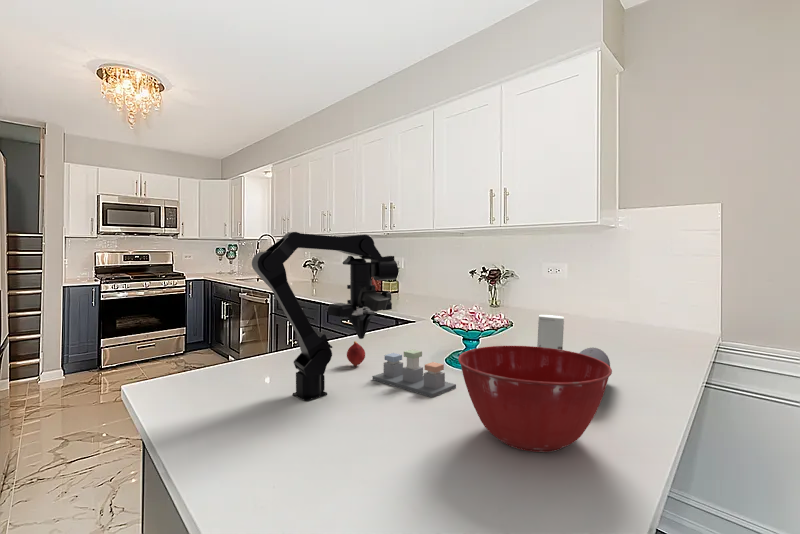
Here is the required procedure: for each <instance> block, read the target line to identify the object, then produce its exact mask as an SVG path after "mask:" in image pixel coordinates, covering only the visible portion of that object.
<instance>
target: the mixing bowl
mask: <svg viewBox="0 0 800 534" xmlns="http://www.w3.org/2000/svg"><path fill="white" fill-rule="evenodd" d="M457 359H458V362H459V364H460V368H461V373H462V377H463V380H464V384H465V387H466V389H467V393H468V396H469V398H470V401H471V403H472V405H473V407H474V409H475V412H476V413H477V416H478V418H479V419H480V422H481V424H482V425H483V426H484V428H485V429H486V430H487V431H488V432H489V433H490V434H491V435H492V436H493V437H495V438H496V439H498V441H500V442H501V443H503V444H505V445H506V446H509V447H512V448H514V449H518V450H522V451H527V452H535V453H550V452H555V451H559V450H562V449H563V448H565V447H568V446H570V445H571V444H572V445H573V443H575V442H576V441H578V440H579V439H580V438H581V437H582V436H583V434H584V433H585V431H586V430H587V428H588V427H589V425H590V424H591V423H592V421H593V418H594V417H595V416H596V413H597V411H598V409H599V407H600V404H601V402H602V399H603V398H604V394H605V391H606V388H607V385H608V382H609V377H610V376H611V375H612V374H613V370H612V367H611V365H610V366H609V365H607V364H606V363H604V362H603V361H601V360H598V359H596V358H593V357H590V356H587V355H583V354H580V352H576V351H575V352H574V351H571V350H566V349H565V350H564V349H563V350H559V349H552V348H544V347H537V346H533V345H532V346H530V345H493V346H483V347H478V348H477V347H476V348H473V349H469V350H467V351H463V352H462V353H460V354H459V356H458V357H457Z"/></svg>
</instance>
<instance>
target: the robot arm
mask: <svg viewBox="0 0 800 534" xmlns="http://www.w3.org/2000/svg"><path fill="white" fill-rule="evenodd" d="M298 249H311V250H323V251H335V252H340V253H343V254H346V255H348V256H347V257H346V259H345V260H344V261H343V262H342V265H345V266H349V268H350V269H349V271H350V273H349V274H350V278H349V279H350V280H349V281H350V282H349V283H350V284H347V285H346V289H348V290H350V292H349V294H350V296H349V297H350V299H347V300H346V301H347V302H346V303H343V302H336V303H330V304H329V305H328V306H327V315H328V316H334V317H339V318H344V317H347V318H348V319H349V322H350V323H351V325H352V327H353V329H354V330H355V334H356V335H357V337H358V339H359V340H362V339H364V338H365V337H366V334H367V333H366V332H367V330H368V327H369V324H370V321H371V320H372V319H373V317H374V316H376V315H378V312H379V311H390V310H393V307H392V305H393V303H392V292H391V291H389V290H385V291H382V292H377V291H376V285H375V284H372V278H373V279H374V281H391V280H392V281H395V280H396V279H397V278H398V276H399V266H398V263H397V261H396V260H395V256H394V255H386V256H382V255H381V253H380V251H379V250H378V248H377V247H376V245H375V242H374V239H373V237H372V236H371V235H368V234H357V235H356V234H355V235H354V234H353V235H347V236H343V235H342V236H337V235H335V236H334V235H325V234H324V235H323V234H311V233H304V232H303V233H302V232H297V231H292V232H291V231H290V232H287V233H285V235H284V236H283V237H281V238H280V239H278V241H276V242H275V243H274V244H272V245H271V246H270V247H267V249H266V250H264V251H259V252H257V253H256V254H255V255H254V256H253V258H252V260H251V267H252V269H253V271H254V273H256V275H258V276H259V278H260V279H261V280H262V281H263V282H264V283H265V285H267V286H268V287H269V288H270V289H271V291H272V293H273V295H274V297H275V299H276V300H277V302H278V304H279V305H280V307H281V309H282V311H283V312H284V315H285V316H286V318H287V320H288V322H289V323H290V325H291V326H292V329H293V330H294V332H295V334H296V336H297V339H298V340H297V341H298V344H299V346H298V347H299V348H300V352H301V353H299V355H298V356H297V357H296V358H295V359H294V360H293V365H294V367H295V369H296V370H298V371H296V372H295V392H292V396H293V397H296V398H298V399H300V400H302V401H306V402H309V401H312V400H315V399H318V398H322V397H324V396H327V395H328V392H327V391H325V387H326V386H325V383H326V381H325V372H326V369H327V365H329V364H330V361H331V360H332V357H333V351H332V349H333V346H332V345H331V344H330V343H329V341H328V337H327V335H326V334H325V333H324V332H321V331H319V330H314V327H313V326H312V324H311V322H310V320H309V318H308V317H307V315H306V313H305V311H304V309H303V307H302V306H301V304H300V302H299V301H298V299H297V297H296V295H295V293H294V292H293V289H292V288H291V287H290V284H289V282H288V277H287V270H286V268H285V265H284V263H285V262H286V261H287V260H289V258H290V257H291V256H292V255H293V253H295V252H296V250H298ZM355 257H357V258H355ZM358 257H359V258H358ZM367 260H370V261H367Z"/></svg>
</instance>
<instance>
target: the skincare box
mask: <svg viewBox="0 0 800 534" xmlns="http://www.w3.org/2000/svg"><path fill="white" fill-rule="evenodd" d="M537 322H538V323H537V345H536V347H544V348H552V349H559V350H564V349H563V347H564V345H563V344H564V330H565V327H564V325H565V317H564V315H563V316H562V315H552V314H539V315H538V320H537Z"/></svg>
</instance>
